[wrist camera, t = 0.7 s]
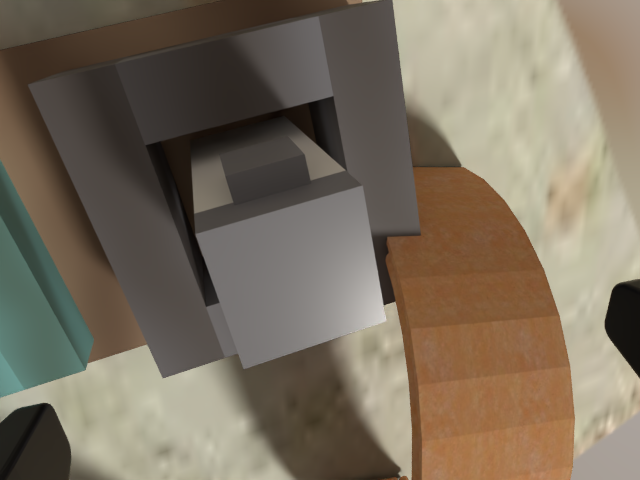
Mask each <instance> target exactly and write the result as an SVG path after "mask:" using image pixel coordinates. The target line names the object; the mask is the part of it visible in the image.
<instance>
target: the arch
mask: <svg viewBox="0 0 640 480" xmlns="http://www.w3.org/2000/svg"><path fill="white" fill-rule="evenodd" d="M413 174H414V182H415V191H416V199H417V207H418V215H419V223H420V231H421V236H398V237H387V243H386V244H387V247H388V251H389V253H388V254H387V256H386V260H385V261H386V265H387V269H388V272H389V276H390V279H391V283H392V286H393V290H394V295H395V300H396V305H397V310H398V315H399V320H400V325H401V329H402V335H403V342H404V350H405V357H406V364H407V372H408V379H409V392H410V407H411V421H412V480H570V478H571V473H572V467H573V448H574V423H575V415H574V404H573V393H572V382H571V371H570V364H569V359H568V354H567V349H566V345H565V340H564V335H563V330H562V326H561V321H560V316H559V313H558V310H557V307H556V304H555V301H554V298H553V295H552V292H551V289H550V286H549V283H548V280H547V277H546V275H545V272H544V269H543V267H542V265H541V263H540V261H539V259H538V257H537V254H536V252H535V250H534V248H533V246H532V244H531V242H530V240H529V238H528V236H527V234H526V232H525V230H524V229H523V227H522V226H521V224H520V223H519V221H518V220H517V218H516V217H515V215H514V214H513V212H512V211H511V209H510V208H509V206H508V205H507V203H506V202H505V201H504V200H503V199H502V197H501V196H500V195H499V194H498V193H497V192H496V191H495V190H494V189H493V188H492V187H491V186H490V185H489V184H488V183H487V182H486V181H485V180H484V179H482V178H481V177H479V176H477V175H476V174H474V173H472V172H471V171H469V170H467V169H466V168H464V167H413ZM381 480H398V479H397V478H396V477H393V478H387V479H381ZM399 480H408V478H407V477H406V476H402V477H401V478H400V479H399Z"/></svg>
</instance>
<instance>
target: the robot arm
mask: <svg viewBox="0 0 640 480" xmlns="http://www.w3.org/2000/svg"><path fill="white" fill-rule="evenodd" d="M605 330H606V333H607V335H608V337H609V338H610V340H611V341H612V342H613V344H614V345H615V346H616V348H617V349H618V350H619V352H620V353H621V354H622V356H623V357H624V358H625V359H626V361H627V362H628V363H629V365H630V366H631V367H632V369H633V370H634V371H635V373H636V374H637V375H638V377H639V378H640V279H636V280H631V281H626V282H621V283H619V284H617V285H616V286H615V287H614V288H613V290H612V293H611V297H610V301H609V305H608V310H607V314H606V318H605ZM70 465H71V449H70V444H69V441H68V439H67V437H66V434H65V432H64V430H63V428H62V425H61V423H60V421H59V419H58V416H57V414H56V412H55V410H54V408H53V407H52V406H51V405H50V404H48V403H41V404H36V405H31V406H26V407H22V408H19V409H16V410H15V411H13V412H12V413H11V414H10V415H9V416H8V417H7V418H5V419H4V420H3V421H2V422H1V423H0V480H69V474H70Z"/></svg>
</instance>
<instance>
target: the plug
mask: <svg viewBox="0 0 640 480" xmlns="http://www.w3.org/2000/svg"><path fill="white" fill-rule="evenodd" d="M190 150H191V167H192V185H193V202H194V220H195V235H196V238H197V240H198V243H199V246H200V249H201V251H202V254H203V257H204V260H205V263H206V265H207V268H208V271H209V274H210V277H211V279H212V282H213V285H214V288H215V291H216V293H217V296H218V299H219V302H220V305H221V307H222V310H223V313H224V316H225V318H226V321H227V324H228V327H229V330H230V332H231V335H232V338H233V341H234V344H235V346H236V349H237V352H238V355H239V358H240V360H241V363H242V366H243V369H246V368H249V367H252V366H255V365H258V364H261V363H264V362H267V361H270V360H273V359H276V358H279V357H282V356H285V355H288V354H291V353H294V352H297V351H300V350H303V349H306V348H309V347H312V346H315V345H318V344H321V343H324V342H327V341H330V340H332V339H335V338H338V337H341V336H344V335H347V334H350V333H353V332H356V331H359V330H362V329H365V328H368V327H371V326H374V325H377V324H380V323H383V322H386V316H385V311H384V305H383V299H382V293H381V288H380V282H379V276H378V271H377V265H376V259H375V253H374V248H373V242H372V236H371V230H370V225H369V219H368V213H367V207H366V202H365V196H364V190H363V185H362V184H360V183H359V182H358V181H357V180H356V179H355V178H354V177H353V176H351V175H350V174H349V173H348V172H347V171H346V170H345V169H344V168H342V167H341V166H340V165H339V164H338V163H337V162H336V161H335V160H333V159H332V158H331V157H330V156H329V155H328V154H327V153H326V152H324V151H323V150H322V149H321V148H320V147H319V146H318V145H317V144H315V143H314V142H313V141H312V140H311V139H310V138H309V137H308V136H306V135H305V134H304V133H303V132H302V131H301V130H300V129H299V128H297V127H296V126H295V125H294V124H293V123H292V122H291V121H290V120H288V119H287V118H286V117H285V116H281V117H277V118H274V119H270V120H266V121H262V122H258V123H255V124H251V125H247V126H243V127H239V128H236V129H232V130H228V131H224V132H220V133H217V134H213V135H209V136H205V137H201V138H198V139H194V140H190Z"/></svg>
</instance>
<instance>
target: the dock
mask: <svg viewBox="0 0 640 480" xmlns="http://www.w3.org/2000/svg"><path fill="white" fill-rule="evenodd" d="M281 116H285V117H286V118H287V119H288V120H290V121H291V122H292V123H293V124H294V125H295V126H296V127H297V128H299V129H300V130H301V131H302V132H303V133H304V134H305V135H306V136H308V137H309V138H310V139H311V140H312V141H313V142H314V143H315V144H317V145H318V146H319V147H320V148H321V149H322V150H323V151H324V152H326V153H327V154H328V155H329V156H330V157H331V158H332V159H333V160H335V161H336V162H337V163H338V164H339V165H340V166H341V167H342V168H344V169H345V170H346V171H347V172H348V173H349V174H350V175H351V176H353V177H354V178H355V179H356V180H357V181H358V182H359V183H360V184H362V185H363V190H364V196H365V202H366V207H367V213H368V219H369V225H370V230H371V236H372V242H373V248H374V253H375V259H376V265H377V271H378V276H379V282H380V288H381V293H382V299H383V305H386V304H389V303H392V302H395V301H396V300H395V295H394V290H393V286H392V283H391V279H390V276H389V272H388V269H387V265H386V261H385V260H386V256H387V254H388V253H389V251H388V247H387V244H386V243H387V237H398V236H421V231H420V223H419V215H418V207H417V199H416V191H415V182H414V174H413V166H412V158H411V150H410V141H409V133H408V125H407V117H406V109H405V100H404V92H403V84H402V76H401V68H400V60H399V51H398V43H397V35H396V27H395V19H394V10H393V2H392V0H379V1H371V2H364V3H362V0H222V1H217V2H213V3H208V4H204V5H199V6H195V7H190V8H186V9H181V10H177V11H173V12H168V13H164V14H159V15H155V16H150V17H146V18H141V19H137V20H132V21H128V22H123V23H119V24H114V25H110V26H106V27H101V28H97V29H92V30H88V31H83V32H79V33H74V34H70V35H65V36H61V37H56V38H52V39H47V40H43V41H39V42H34V43H30V44H25V45H21V46H16V47H12V48H7V49H3V50H0V397H3V396H6V395H10V394H13V393H16V392H19V391H22V390H25V389H28V388H31V387H35V386H38V385H41V384H44V383H47V382H50V381H53V380H56V379H59V378H63V377H66V376H69V375H72V374H75V373H78V372H81V371H84V370H86V366H87V363H90V362H93V361H96V360H99V359H103V358H106V357H109V356H112V355H115V354H118V353H121V352H124V351H128V350H131V349H134V348H137V347H140V346H143V345H146V344H147V345H148V347H149V349H150V351H151V353H152V355H153V358H154V360H155V362H156V364H157V366H158V368H159V371H160V373H161V375H162V377H163V378H166V377H169V376H172V375H175V374H178V373H181V372H184V371H187V370H190V369H193V368H196V367H199V366H202V365H205V364H208V363H211V362H214V361H217V360H220V359H223V358H226V357H229V356H232V355H235V354H238V352H237V349H236V346H235V344H234V341H233V338H232V335H231V332H230V330H229V327H228V324H227V321H226V318H225V316H224V313H223V310H222V307H221V305H220V302H219V299H218V296H217V293H216V291H215V288H214V285H213V282H212V279H211V277H210V274H209V271H208V268H207V265H206V263H205V260H204V257H203V254H202V251H201V249H200V246H199V243H198V240H197V238H196V235H195V220H194V202H193V185H192V167H191V150H190V140H194V139H198V138H201V137H205V136H209V135H213V134H217V133H220V132H224V131H228V130H232V129H236V128H239V127H243V126H247V125H251V124H255V123H258V122H262V121H266V120H270V119H274V118H277V117H281Z"/></svg>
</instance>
